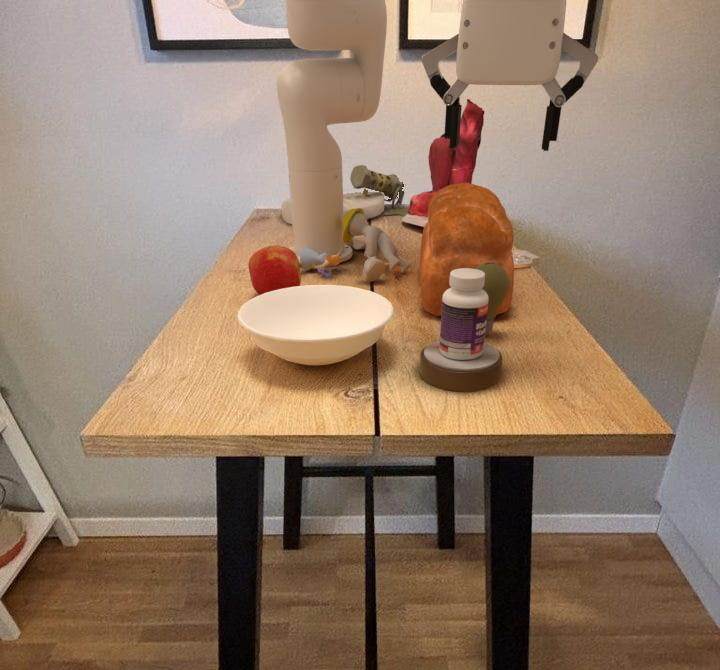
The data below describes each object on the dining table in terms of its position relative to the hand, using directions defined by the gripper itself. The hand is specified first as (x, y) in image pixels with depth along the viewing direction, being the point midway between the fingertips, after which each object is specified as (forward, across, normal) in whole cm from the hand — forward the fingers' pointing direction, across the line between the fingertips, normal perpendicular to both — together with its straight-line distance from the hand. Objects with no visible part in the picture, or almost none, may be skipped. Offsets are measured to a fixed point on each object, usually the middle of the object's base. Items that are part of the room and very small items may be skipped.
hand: (499, 147), depth 70 cm
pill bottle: (+22, +2, +4) cm, 23 cm away
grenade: (+18, +34, -76) cm, 85 cm away
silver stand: (+25, +2, +4) cm, 25 cm away
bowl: (+25, +21, +2) cm, 33 cm away
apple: (+25, +34, -18) cm, 46 cm away
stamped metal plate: (+27, -4, -46) cm, 54 cm away
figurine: (+24, +18, -31) cm, 43 cm away
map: (+26, +21, -82) cm, 88 cm away
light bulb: (+25, 0, -9) cm, 27 cm away
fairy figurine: (+24, +38, -34) cm, 57 cm away
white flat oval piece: (+25, +40, -76) cm, 90 cm away
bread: (+25, +5, -27) cm, 37 cm away
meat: (+28, +8, -69) cm, 75 cm away
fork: (+22, +30, -52) cm, 64 cm away
